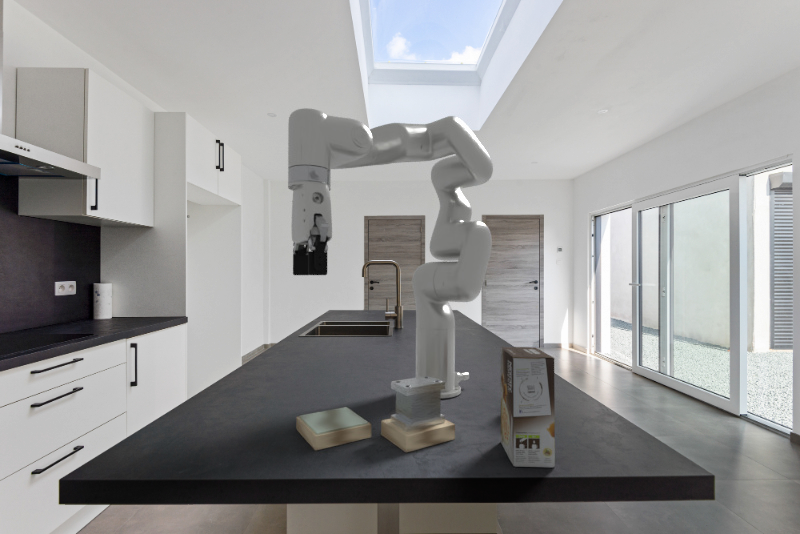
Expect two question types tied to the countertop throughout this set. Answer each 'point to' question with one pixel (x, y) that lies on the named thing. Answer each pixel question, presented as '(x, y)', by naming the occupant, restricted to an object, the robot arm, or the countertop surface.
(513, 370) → the coffee box
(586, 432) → the countertop surface
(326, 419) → the stand
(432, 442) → the beige piece
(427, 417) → the housing
